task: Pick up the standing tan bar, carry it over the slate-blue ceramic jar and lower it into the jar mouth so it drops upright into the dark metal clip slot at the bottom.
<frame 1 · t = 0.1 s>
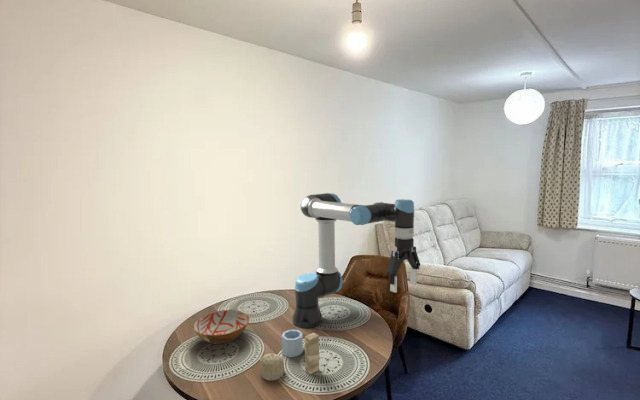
hand: (403, 287, 136), 28 cm above the table, fingers open, 13 cm apart
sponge: (272, 373, 126), on the table
jar: (292, 351, 140), on the table
tan bar: (312, 370, 127), on the table
bowl: (222, 338, 153), on the table
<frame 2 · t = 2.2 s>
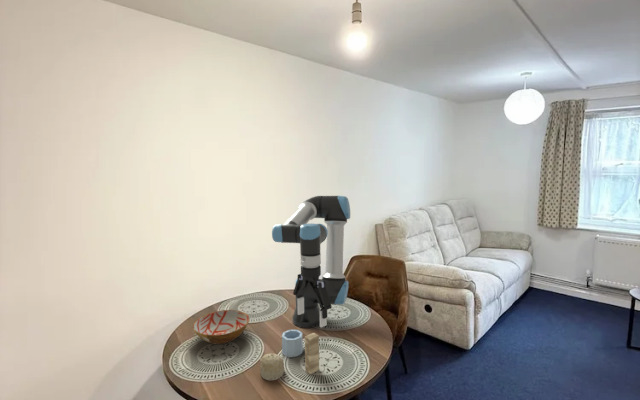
hand: (311, 319, 125), 21 cm above the table, fingers open, 13 cm apart
nothing on the table moved.
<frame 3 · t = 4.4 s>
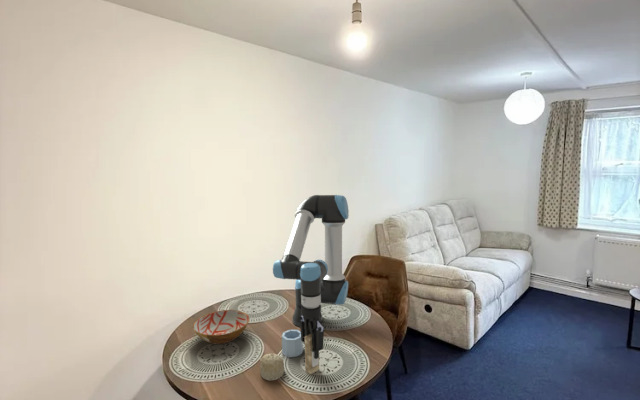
hand: (312, 363, 127), 3 cm above the table, fingers closed on tan bar, 3 cm apart
tan bar: (312, 370, 127), on the table, touching gripper
everything else where it was.
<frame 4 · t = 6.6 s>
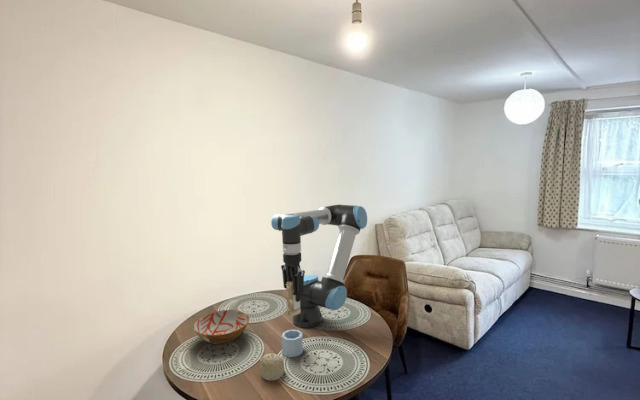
hand: (294, 306, 138), 20 cm above the table, fingers closed on tan bar, 3 cm apart
tan bar: (294, 313, 138), point 17 cm above the table, touching gripper
everything else where it was.
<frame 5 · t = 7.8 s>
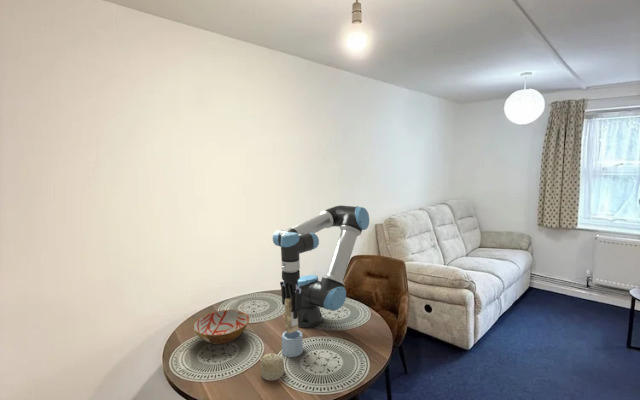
hand: (291, 323, 139), 12 cm above the table, fingers closed on tan bar, 3 cm apart
tan bar: (291, 330, 139), point 9 cm above the table, touching gripper
everything else where it was.
when the fingers open (9 cm above the table, at t = 8.6 s): tan bar drops 5 cm, resting on jar.
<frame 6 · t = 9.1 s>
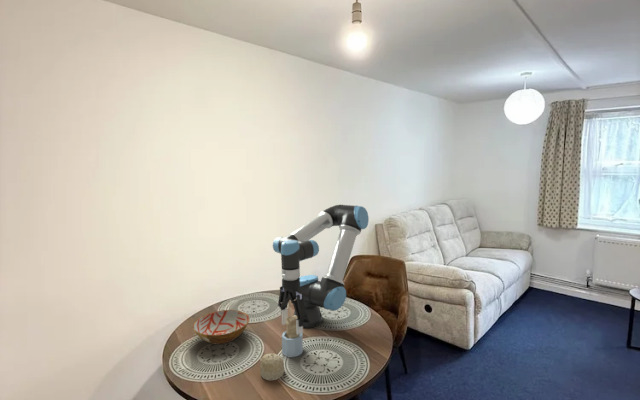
hand: (292, 328, 139), 10 cm above the table, fingers open, 10 cm apart
tan bar: (292, 349, 140), point 1 cm above the table, touching jar
everything else where it was.
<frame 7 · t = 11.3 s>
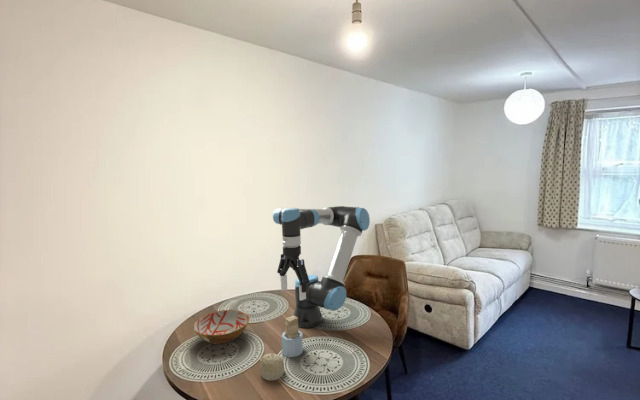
hand: (293, 294, 139), 25 cm above the table, fingers open, 13 cm apart
nothing on the table moved.
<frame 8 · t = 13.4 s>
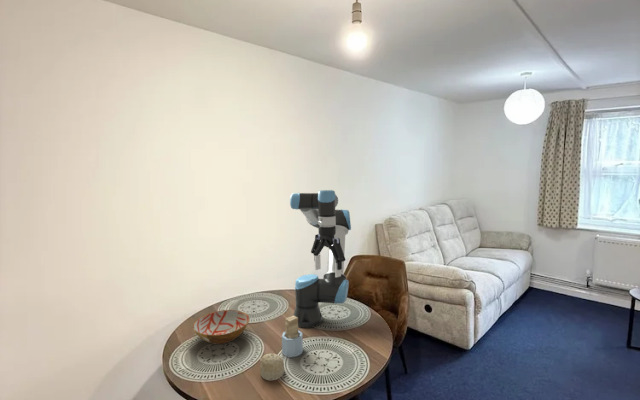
hand: (327, 273, 145), 32 cm above the table, fingers open, 13 cm apart
nothing on the table moved.
at the end: tan bar 0.1 cm off-centre on the jar, point 0.8 cm above the jar's base; tan bar tilted 0°; the gripper is holding nothing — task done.
